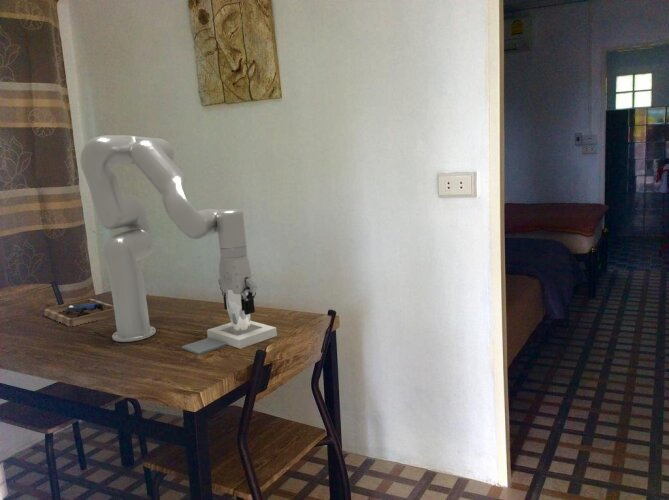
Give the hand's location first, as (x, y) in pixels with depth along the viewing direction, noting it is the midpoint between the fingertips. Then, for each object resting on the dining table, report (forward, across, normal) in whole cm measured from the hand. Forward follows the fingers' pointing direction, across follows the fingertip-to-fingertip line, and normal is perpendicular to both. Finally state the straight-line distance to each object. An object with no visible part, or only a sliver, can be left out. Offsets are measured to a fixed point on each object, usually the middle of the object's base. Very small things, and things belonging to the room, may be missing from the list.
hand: (239, 310), depth 175 cm
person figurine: (+8, -70, -17) cm, 72 cm away
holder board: (+8, 0, 0) cm, 8 cm away
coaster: (+8, -2, -12) cm, 14 cm away
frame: (+8, -70, -18) cm, 73 cm away
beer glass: (+8, 0, 0) cm, 8 cm away
